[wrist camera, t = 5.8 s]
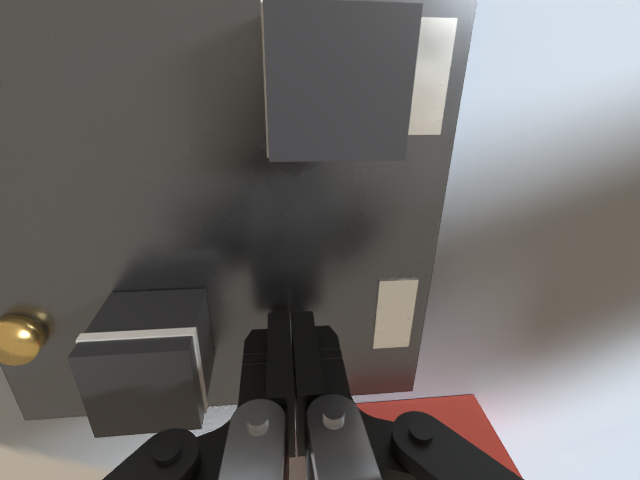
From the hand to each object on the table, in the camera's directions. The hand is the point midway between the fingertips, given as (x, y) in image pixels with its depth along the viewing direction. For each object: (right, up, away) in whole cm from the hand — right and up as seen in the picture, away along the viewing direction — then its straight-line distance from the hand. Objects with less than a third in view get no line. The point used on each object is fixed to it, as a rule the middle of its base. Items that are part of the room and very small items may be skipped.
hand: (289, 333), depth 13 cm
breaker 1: (-4, 0, 0) cm, 4 cm away
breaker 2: (+1, +8, -3) cm, 8 cm away
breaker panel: (-3, +5, +1) cm, 5 cm away
